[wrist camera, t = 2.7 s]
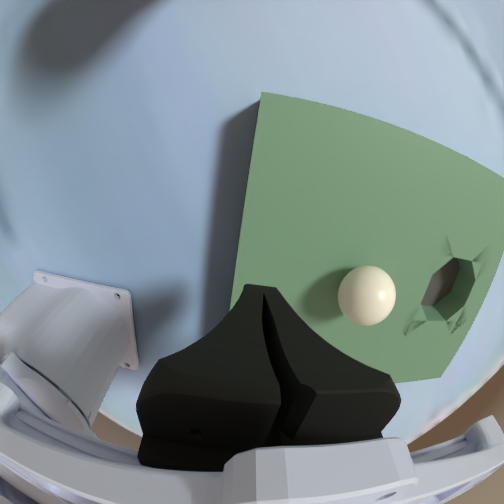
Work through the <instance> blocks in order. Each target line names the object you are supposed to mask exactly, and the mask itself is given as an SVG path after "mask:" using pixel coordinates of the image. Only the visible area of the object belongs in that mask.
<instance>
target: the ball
mask: <svg viewBox="0 0 504 504" xmlns="http://www.w3.org/2000/svg"><path fill="white" fill-rule="evenodd" d="M395 300H396V290H395V286H394V283H393V281H392V279H391V277H390V276H389V275H388V274H387V273H386V272H385V271H384V270H382V269H380V268H378V267H375V266H360V267H357V268H355V269H353V270H352V271H350V272H349V273H348V274H347V275H346V276H345V277H344V279H343V280H342V282H341V284H340V287H339V290H338V303H339V307H340V309H341V311H342V313H343V314H344V316H345V317H346V318H347V319H348V320H350V321H351V322H353V323H355V324H358V325H362V326H370V325H374V324H377V323H379V322H381V321H382V320H384V319H385V318H386V317H387V316H388V315H389V314H390V312H391V311H392V309H393V307H394V304H395Z"/></svg>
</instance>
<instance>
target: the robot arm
mask: <svg viewBox="0 0 504 504" xmlns="http://www.w3.org/2000/svg"><path fill="white" fill-rule="evenodd" d="M45 277H46V278H45ZM33 279H34V283H33V284H32V285H31V286H30V287H29V288H27V289H26V290H25V291H24V292H23V293H22V294H21V295H20V296H18V297H17V298H16V299H15V300H14V301H13V302H12V303H11V304H10V305H9V306H7V307H6V308H5V309H4V310H3V311H2V312H1V313H0V504H443V503H445V502H447V501H449V500H451V499H453V498H455V497H457V496H458V495H460V494H462V493H464V492H466V491H467V490H469V489H471V488H473V487H474V486H475V485H477V484H478V483H480V482H481V481H483V480H484V479H485V478H487V477H488V476H489V475H491V474H492V473H493V472H494V471H496V470H497V469H498V468H499V467H500V466H502V465H503V464H504V434H503V432H502V430H501V429H500V427H499V425H498V423H497V422H496V420H495V418H494V417H493V415H491V416H489V417H487V418H484V419H482V420H480V421H478V422H476V423H475V424H473V425H472V426H471V427H470V428H469V429H468V430H467V431H466V433H465V434H464V435H462V436H460V437H457V438H454V439H451V440H449V441H446V442H443V443H440V444H437V445H434V446H431V447H428V448H425V449H421V450H418V451H414V452H411V453H409V450H408V448H407V445H406V443H405V442H404V441H403V439H402V438H383V436H382V433H381V431H382V430H383V429H384V428H385V426H386V425H387V424H388V423H389V422H390V420H391V419H392V418H393V417H394V415H395V414H396V412H397V411H398V409H399V407H400V403H401V398H400V394H399V392H398V390H397V388H396V386H395V384H394V382H393V380H392V378H391V376H390V374H387V373H384V372H382V371H379V370H377V369H374V368H372V367H370V366H367V365H365V364H363V363H361V362H359V361H357V360H355V359H353V358H351V357H350V356H348V355H346V354H345V353H343V352H341V351H340V350H338V349H337V348H335V347H334V346H332V345H331V344H330V343H328V342H327V341H326V340H324V339H323V338H322V337H321V336H319V335H318V334H317V333H316V332H315V331H313V330H312V329H311V328H310V327H309V326H308V325H307V324H306V323H305V322H304V321H303V320H302V319H301V318H300V316H299V315H298V314H297V313H296V312H295V311H294V310H293V308H292V307H291V306H290V305H289V304H288V302H287V301H286V300H285V298H284V297H283V296H282V294H281V293H280V292H279V290H278V289H277V288H276V287H270V286H262V285H254V284H245V285H244V286H243V291H242V293H241V295H240V297H239V299H238V300H237V302H236V303H235V305H234V306H233V308H232V309H231V310H230V312H229V313H228V314H227V315H226V316H225V318H224V319H223V320H222V321H221V322H220V323H219V324H218V325H217V326H216V327H215V328H214V329H213V330H211V331H210V332H209V333H208V334H206V335H205V336H204V337H202V338H201V339H200V340H198V341H197V342H195V343H193V344H192V345H190V346H188V347H187V348H185V349H183V350H181V351H179V352H177V353H174V354H172V355H169V356H167V357H164V358H161V359H159V360H158V362H157V363H156V364H155V366H154V367H153V369H152V370H151V372H150V373H149V375H148V377H147V379H146V380H145V382H144V384H143V386H142V389H141V392H140V394H139V397H138V400H137V403H136V412H137V415H138V419H139V422H140V425H141V429H142V432H143V437H142V440H141V444H140V448H139V451H134V450H131V449H127V448H124V447H121V446H118V445H114V444H111V443H108V442H105V441H102V440H100V439H98V437H97V436H96V435H95V434H94V433H93V432H92V431H91V430H90V429H91V426H92V424H93V422H94V419H95V417H96V415H97V412H98V410H99V408H100V406H101V403H102V401H103V399H104V397H105V395H106V392H107V390H108V388H109V386H110V384H111V382H112V380H113V377H114V375H115V373H116V371H117V369H118V367H123V368H127V369H131V370H138V368H139V359H138V353H137V345H136V338H135V329H134V320H133V310H132V299H131V294H130V292H129V291H128V290H125V289H121V288H116V287H111V286H106V285H101V284H96V283H92V282H87V281H82V280H78V279H73V278H69V277H65V276H60V275H56V274H52V273H48V272H44V271H40V270H36V271H35V272H33ZM116 293H117V294H119V295H120V297H119V296H117V295H116Z"/></svg>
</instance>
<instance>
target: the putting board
mask: <svg viewBox="0 0 504 504" xmlns="http://www.w3.org/2000/svg"><path fill="white" fill-rule="evenodd" d="M503 251H504V178H503V177H501V176H500V175H498V174H496V173H495V172H493V171H491V170H490V169H488V168H486V167H484V166H483V165H481V164H479V163H477V162H475V161H473V160H472V159H470V158H468V157H466V156H464V155H462V154H460V153H458V152H456V151H454V150H452V149H450V148H448V147H446V146H443V145H441V144H439V143H437V142H435V141H432V140H430V139H428V138H425V137H423V136H421V135H418V134H416V133H413V132H411V131H408V130H406V129H403V128H400V127H398V126H395V125H392V124H389V123H386V122H384V121H381V120H378V119H375V118H372V117H368V116H365V115H362V114H359V113H355V112H352V111H348V110H345V109H341V108H338V107H334V106H330V105H326V104H322V103H318V102H313V101H309V100H304V99H299V98H294V97H289V96H284V95H278V94H272V93H266V92H262V93H261V98H260V103H259V109H258V115H257V122H256V128H255V135H254V141H253V147H252V154H251V160H250V167H249V174H248V180H247V187H246V194H245V201H244V208H243V215H242V221H241V229H240V236H239V243H238V250H237V257H236V264H235V272H234V279H233V287H232V294H231V302H230V309H229V312H230V310H231V309H232V308H233V306H234V305H235V303H236V302H237V300H238V299H239V297H240V295H241V293H242V291H243V286H244V285H245V284H254V285H262V286H270V287H276V288H277V289H278V290H279V292H280V293H281V294H282V296H283V297H284V298H285V300H286V301H287V302H288V304H289V305H290V306H291V307H292V308H293V310H294V311H295V312H296V313H297V314H298V315H299V316H300V318H301V319H302V320H303V321H304V322H305V323H306V324H307V325H308V326H309V327H310V328H311V329H312V330H313V331H315V332H316V333H317V334H318V335H319V336H321V337H322V338H323V339H324V340H326V341H327V342H328V343H330V344H331V345H332V346H334V347H335V348H337V349H338V350H340V351H341V352H343V353H345V354H346V355H348V356H350V357H351V358H353V359H355V360H357V361H359V362H361V363H363V364H365V365H367V366H370V367H372V368H374V369H377V370H379V371H382V372H384V373H387V374H390V376H391V378H392V380H393V382H394V383H400V382H410V381H418V380H425V379H432V378H439V377H441V376H442V374H443V373H444V371H445V370H446V368H447V367H448V365H449V364H450V362H451V360H452V359H453V357H454V356H455V354H456V352H457V351H458V349H459V347H460V346H461V344H462V342H463V340H464V339H465V337H466V335H467V333H468V331H469V330H470V328H471V326H472V324H473V322H474V320H475V318H476V316H477V314H478V312H479V310H480V308H481V306H482V304H483V301H484V299H485V297H486V295H487V293H488V290H489V288H490V286H491V283H492V281H493V278H494V276H495V273H496V271H497V268H498V265H499V262H500V260H501V257H502V254H503ZM360 266H375V267H378V268H380V269H382V270H384V271H385V272H386V273H387V274H388V275H389V276H390V277H391V279H392V281H393V283H394V286H395V290H396V300H395V304H394V307H393V309H392V311H391V312H390V314H389V315H388V316H387V317H386V318H385V319H384V320H382V321H381V322H379V323H377V324H374V325H370V326H362V325H358V324H355V323H353V322H351V321H350V320H348V319H347V318H346V317H345V316H344V314H343V313H342V311H341V309H340V307H339V303H338V290H339V287H340V284H341V282H342V280H343V279H344V277H345V276H346V275H347V274H348V273H349V272H350V271H352V270H353V269H355V268H357V267H360Z"/></svg>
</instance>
